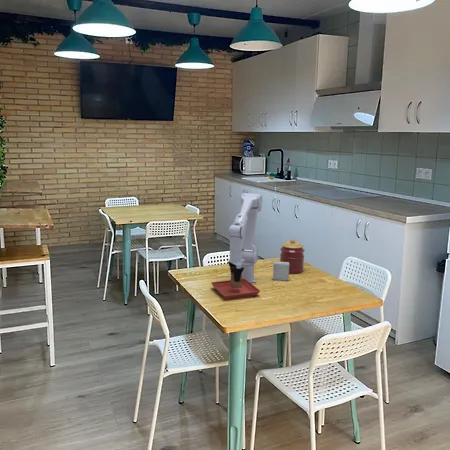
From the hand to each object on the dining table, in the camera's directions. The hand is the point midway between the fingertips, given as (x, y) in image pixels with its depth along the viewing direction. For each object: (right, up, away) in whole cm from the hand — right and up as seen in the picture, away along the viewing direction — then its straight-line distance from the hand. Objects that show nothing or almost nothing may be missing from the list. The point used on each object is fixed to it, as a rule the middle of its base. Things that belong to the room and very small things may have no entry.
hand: (235, 278), depth 210 cm
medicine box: (+24, -3, +21) cm, 32 cm away
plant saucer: (0, -7, +1) cm, 7 cm away
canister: (+31, 0, +36) cm, 48 cm away
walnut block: (0, -4, +1) cm, 4 cm away
